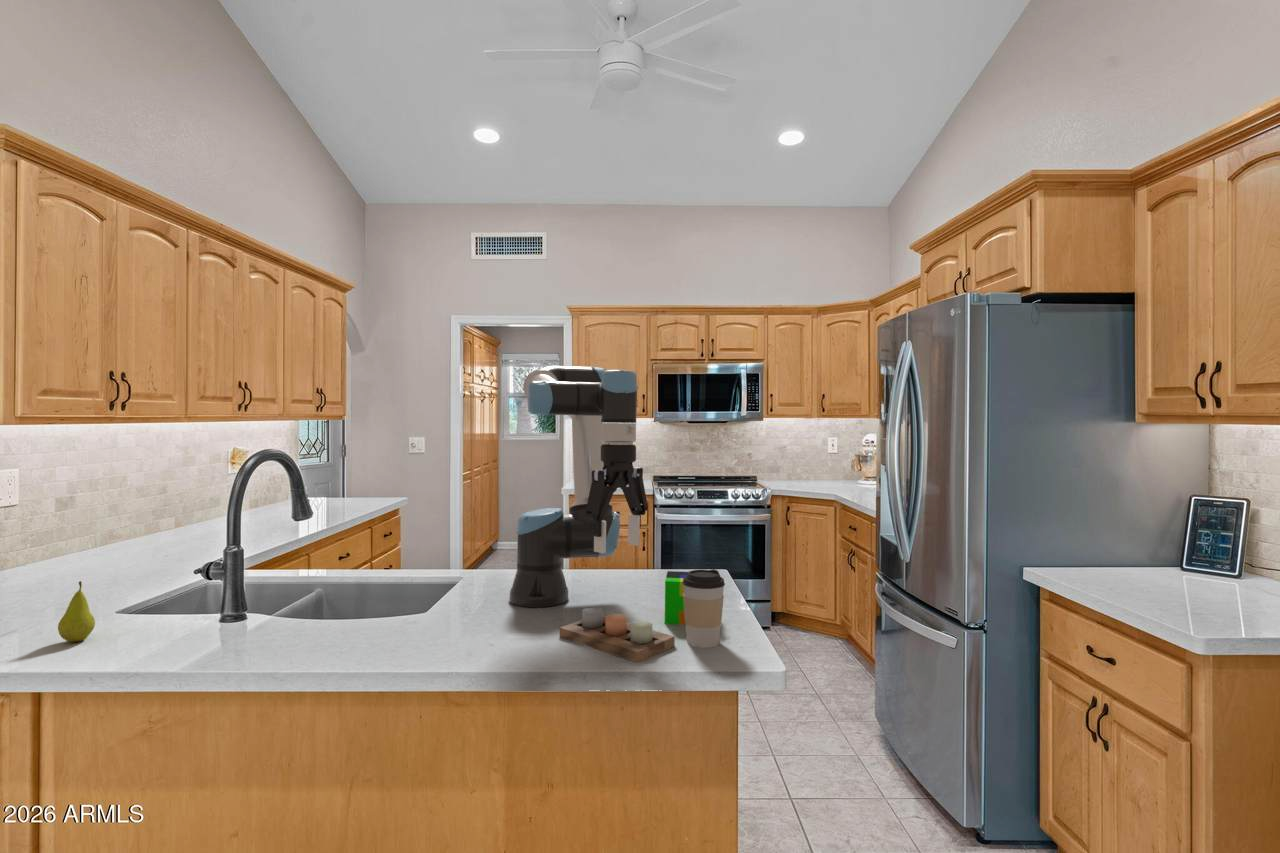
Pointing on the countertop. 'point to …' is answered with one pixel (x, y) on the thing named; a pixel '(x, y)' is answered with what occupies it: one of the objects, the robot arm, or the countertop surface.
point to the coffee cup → (703, 607)
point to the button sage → (641, 632)
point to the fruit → (76, 619)
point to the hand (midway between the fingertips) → (617, 548)
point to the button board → (617, 641)
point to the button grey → (592, 618)
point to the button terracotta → (616, 625)
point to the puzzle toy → (674, 598)
